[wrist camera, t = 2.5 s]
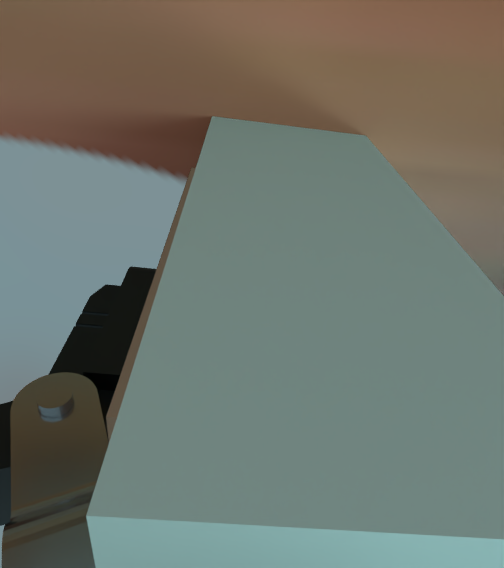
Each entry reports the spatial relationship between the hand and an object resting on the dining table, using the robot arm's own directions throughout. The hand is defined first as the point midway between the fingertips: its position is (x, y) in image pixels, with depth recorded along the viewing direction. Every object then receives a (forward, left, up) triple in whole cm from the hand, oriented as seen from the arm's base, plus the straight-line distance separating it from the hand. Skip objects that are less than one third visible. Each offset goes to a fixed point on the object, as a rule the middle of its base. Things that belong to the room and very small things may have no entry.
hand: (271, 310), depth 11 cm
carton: (0, 0, -3) cm, 3 cm away
